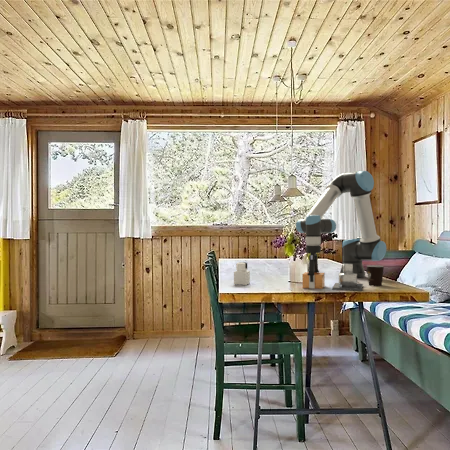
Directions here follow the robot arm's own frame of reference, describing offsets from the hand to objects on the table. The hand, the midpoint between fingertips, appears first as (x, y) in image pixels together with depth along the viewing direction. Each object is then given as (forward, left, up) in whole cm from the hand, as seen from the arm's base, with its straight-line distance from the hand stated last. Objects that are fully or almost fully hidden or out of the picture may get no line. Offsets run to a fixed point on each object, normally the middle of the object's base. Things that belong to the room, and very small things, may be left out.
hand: (313, 286), depth 226 cm
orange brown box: (0, 0, 0) cm, 0 cm away
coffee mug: (-17, +30, 0) cm, 35 cm away
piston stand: (-2, +17, 0) cm, 17 cm away
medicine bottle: (-1, -39, 0) cm, 39 cm away
